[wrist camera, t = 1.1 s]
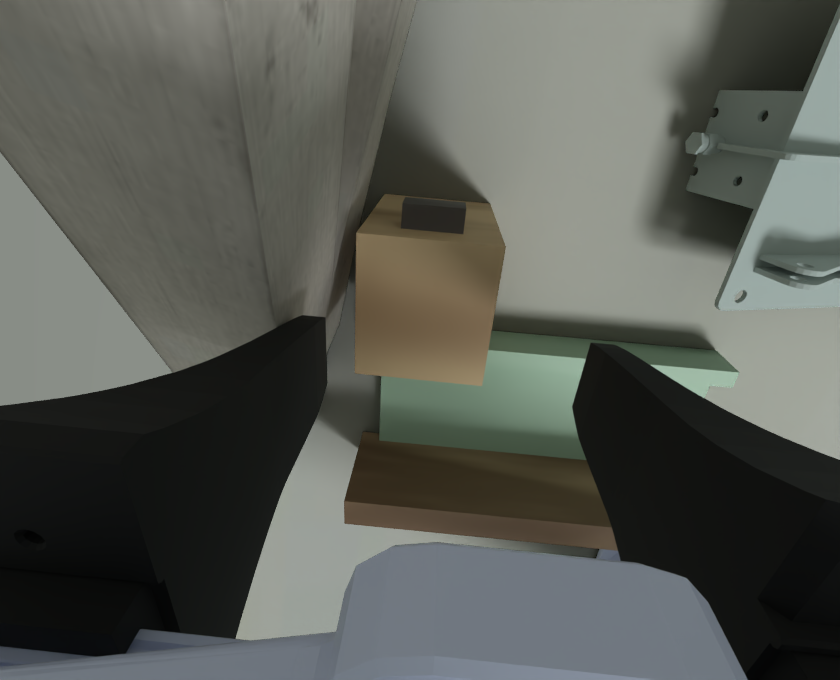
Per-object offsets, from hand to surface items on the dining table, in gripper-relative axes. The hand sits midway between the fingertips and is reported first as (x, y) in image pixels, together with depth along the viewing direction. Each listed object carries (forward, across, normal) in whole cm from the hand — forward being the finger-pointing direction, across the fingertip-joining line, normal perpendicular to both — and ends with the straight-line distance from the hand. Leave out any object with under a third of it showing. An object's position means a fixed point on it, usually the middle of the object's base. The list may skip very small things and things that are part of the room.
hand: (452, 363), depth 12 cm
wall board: (+10, -5, +11) cm, 16 cm away
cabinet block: (+10, +1, 0) cm, 10 cm away
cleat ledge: (+10, -5, +7) cm, 13 cm away
